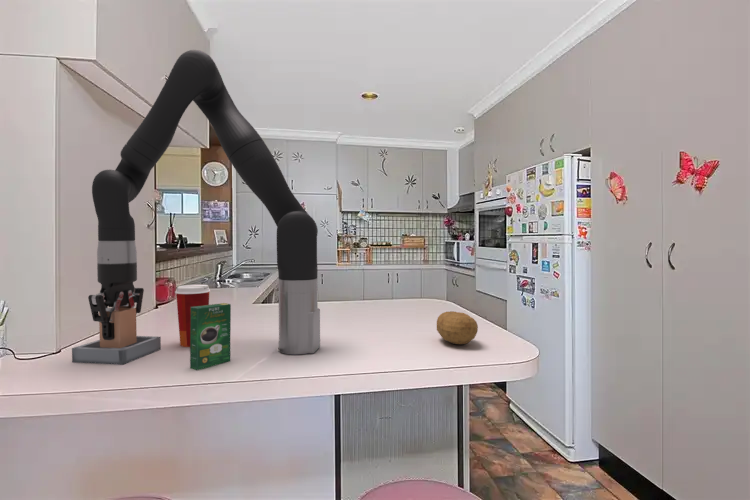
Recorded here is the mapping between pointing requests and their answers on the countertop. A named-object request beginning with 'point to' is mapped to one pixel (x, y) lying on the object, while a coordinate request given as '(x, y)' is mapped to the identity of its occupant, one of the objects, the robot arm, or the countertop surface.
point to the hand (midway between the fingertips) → (118, 336)
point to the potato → (456, 327)
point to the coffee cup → (189, 307)
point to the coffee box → (210, 335)
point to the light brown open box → (121, 329)
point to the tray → (115, 351)
